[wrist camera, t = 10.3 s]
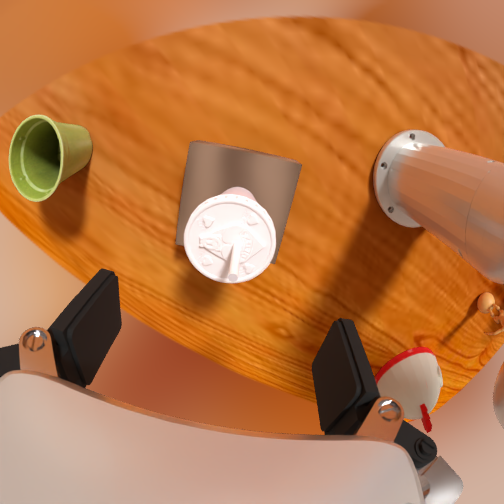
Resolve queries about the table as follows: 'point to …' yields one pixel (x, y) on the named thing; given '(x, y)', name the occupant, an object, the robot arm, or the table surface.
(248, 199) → the smoothie
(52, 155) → the plant pot
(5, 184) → the table surface
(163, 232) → the table surface
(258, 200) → the plinth
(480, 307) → the figurine
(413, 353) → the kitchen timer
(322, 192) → the table surface
